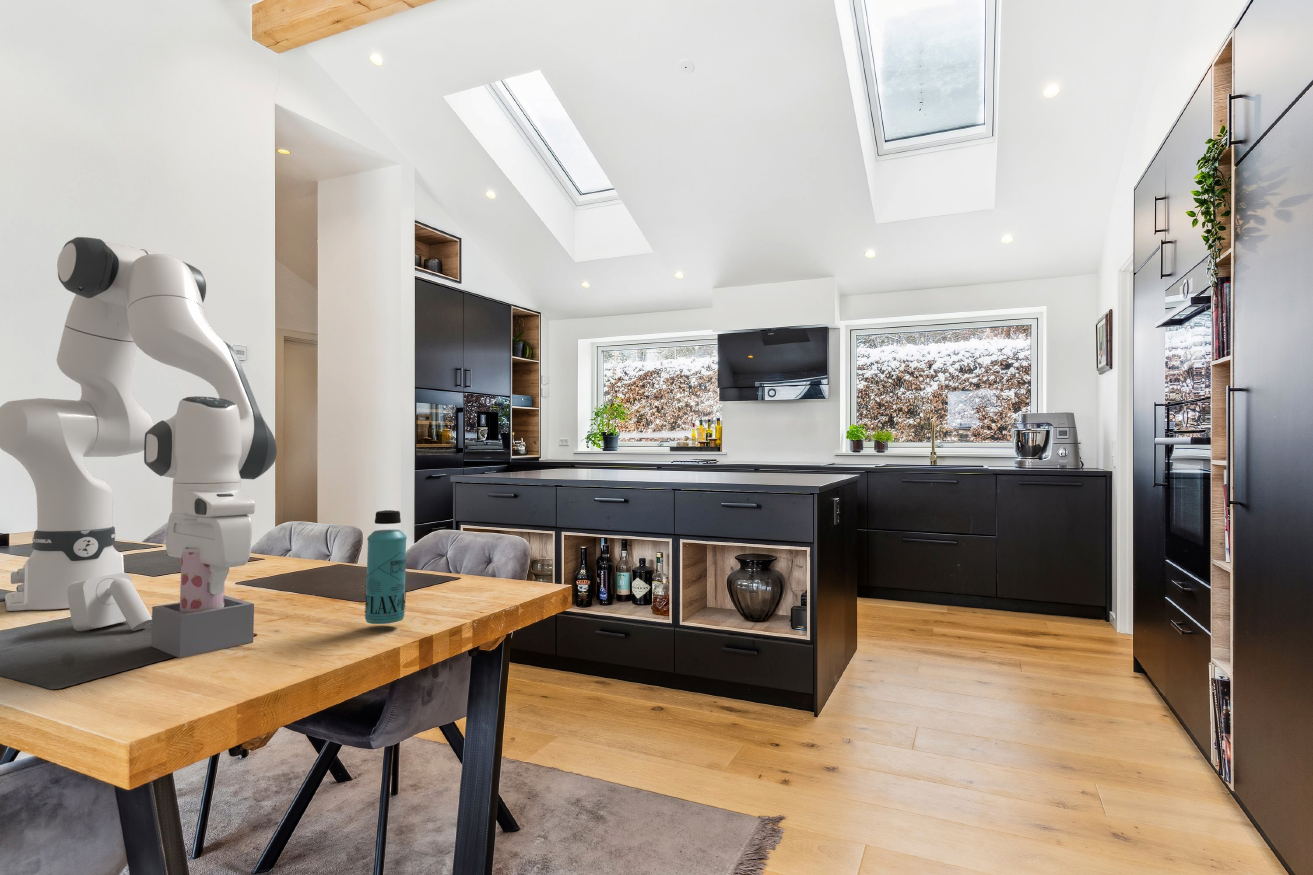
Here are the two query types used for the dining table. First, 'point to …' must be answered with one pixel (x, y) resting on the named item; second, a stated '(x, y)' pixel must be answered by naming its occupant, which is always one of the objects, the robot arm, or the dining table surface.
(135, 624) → the wall hook
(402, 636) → the dining table surface
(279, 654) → the dining table surface
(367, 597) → the beverage bottle
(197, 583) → the beverage can
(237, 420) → the robot arm
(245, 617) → the open box
